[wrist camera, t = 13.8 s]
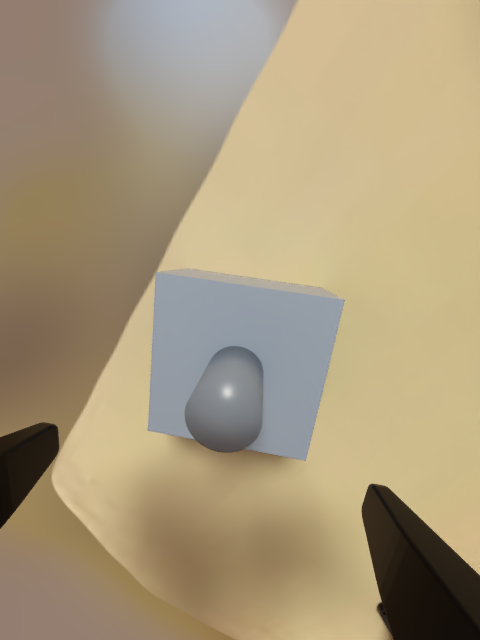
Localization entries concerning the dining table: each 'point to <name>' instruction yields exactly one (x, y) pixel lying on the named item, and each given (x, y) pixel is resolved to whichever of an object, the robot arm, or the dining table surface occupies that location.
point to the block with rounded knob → (240, 360)
